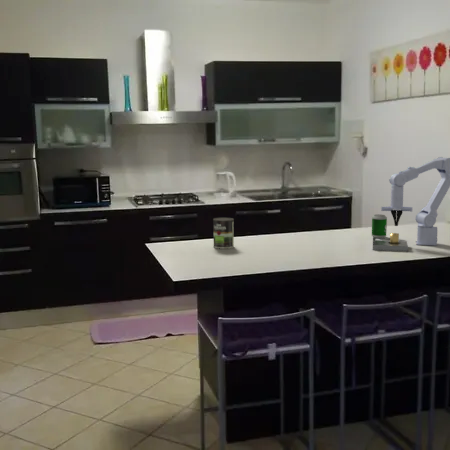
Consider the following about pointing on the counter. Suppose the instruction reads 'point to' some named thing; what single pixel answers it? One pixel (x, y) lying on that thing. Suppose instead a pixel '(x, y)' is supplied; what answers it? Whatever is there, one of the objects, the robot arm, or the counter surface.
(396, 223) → the robot arm
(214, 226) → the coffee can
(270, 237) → the counter surface
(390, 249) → the jig
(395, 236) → the bushing
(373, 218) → the soda can
